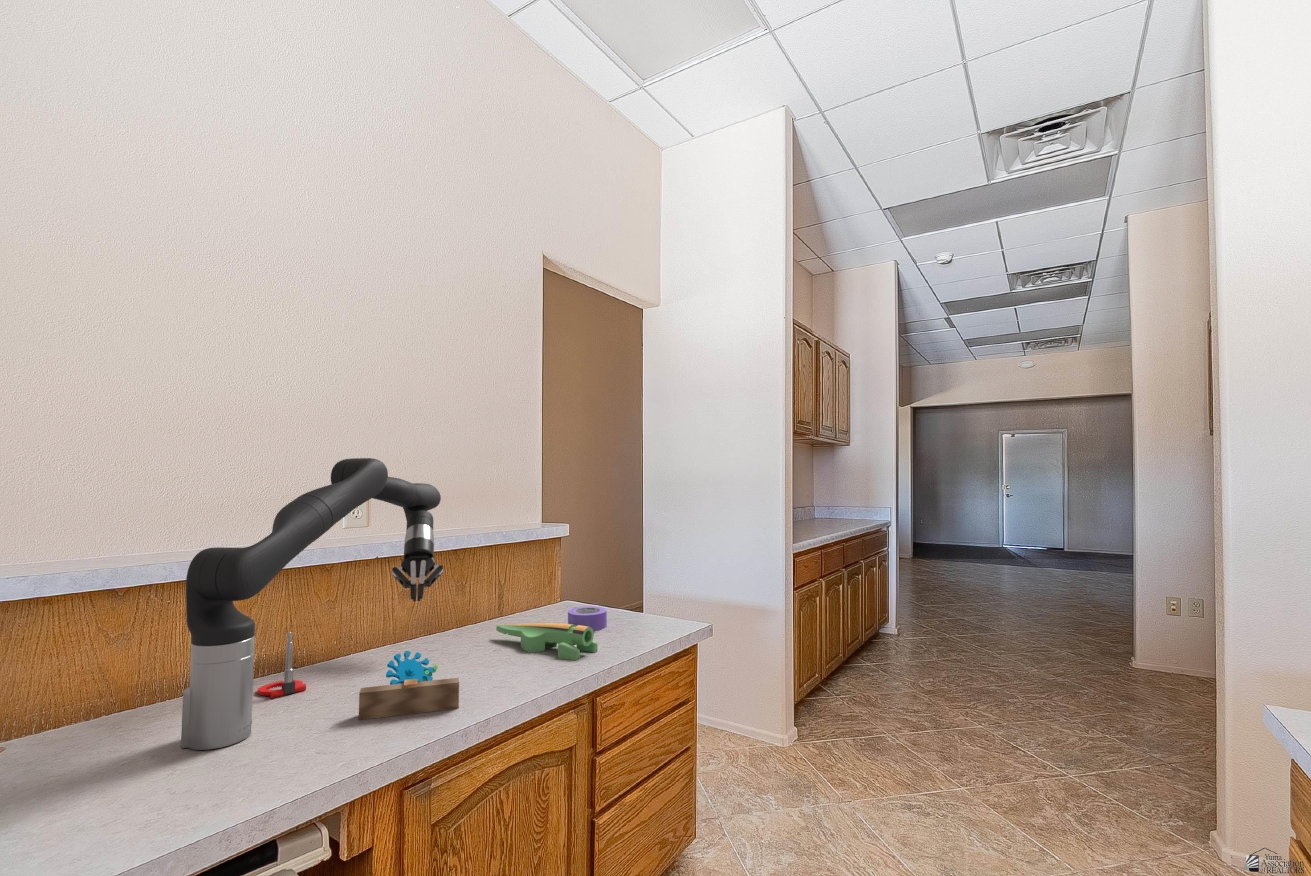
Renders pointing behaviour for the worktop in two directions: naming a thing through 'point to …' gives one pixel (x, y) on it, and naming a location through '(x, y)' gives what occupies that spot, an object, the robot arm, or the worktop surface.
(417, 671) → the gear
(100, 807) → the worktop surface
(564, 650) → the green elongated piece
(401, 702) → the rail
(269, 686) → the tow hook
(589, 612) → the tape roll
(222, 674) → the robot arm
